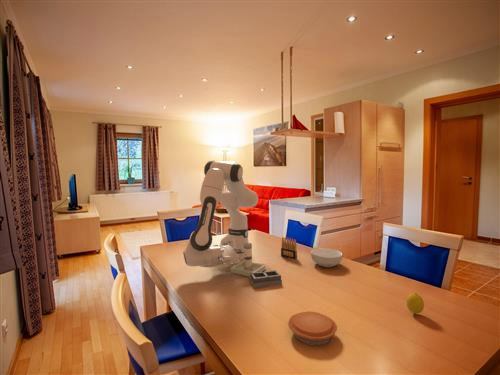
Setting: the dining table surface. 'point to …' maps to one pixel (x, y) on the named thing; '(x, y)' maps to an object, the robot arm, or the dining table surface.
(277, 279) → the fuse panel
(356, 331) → the dining table surface
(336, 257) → the cereal bowl
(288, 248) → the ammunition clip
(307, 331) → the pie
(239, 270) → the tray
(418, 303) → the lemon
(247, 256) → the fuse
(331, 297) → the dining table surface
